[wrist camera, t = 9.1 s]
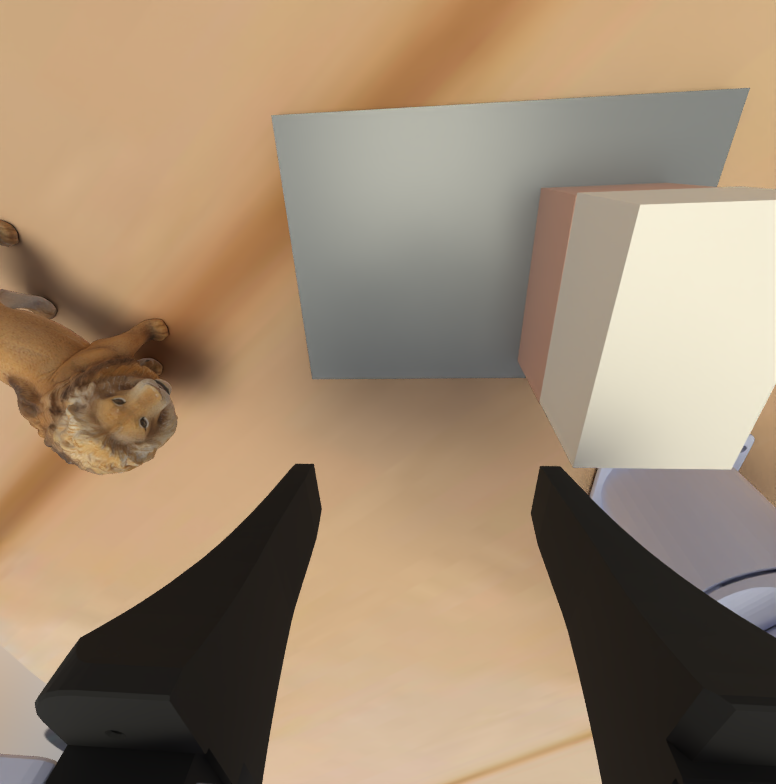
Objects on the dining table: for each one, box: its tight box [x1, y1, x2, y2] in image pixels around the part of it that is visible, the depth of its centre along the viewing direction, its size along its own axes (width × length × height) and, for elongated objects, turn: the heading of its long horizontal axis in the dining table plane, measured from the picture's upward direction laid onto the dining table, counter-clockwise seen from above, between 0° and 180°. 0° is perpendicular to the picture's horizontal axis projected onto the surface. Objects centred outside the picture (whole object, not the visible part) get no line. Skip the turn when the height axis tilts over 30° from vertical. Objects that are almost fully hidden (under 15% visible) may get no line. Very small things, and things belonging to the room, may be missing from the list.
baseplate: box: [271, 88, 750, 379], centre depth 19 cm, size 12×18×1 cm, turn 92°
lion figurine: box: [0, 220, 178, 475], centre depth 18 cm, size 15×5×9 cm, turn 60°
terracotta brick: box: [518, 183, 713, 404], centre depth 17 cm, size 8×5×4 cm, turn 2°
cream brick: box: [540, 186, 776, 470], centre depth 13 cm, size 8×5×4 cm, turn 2°
